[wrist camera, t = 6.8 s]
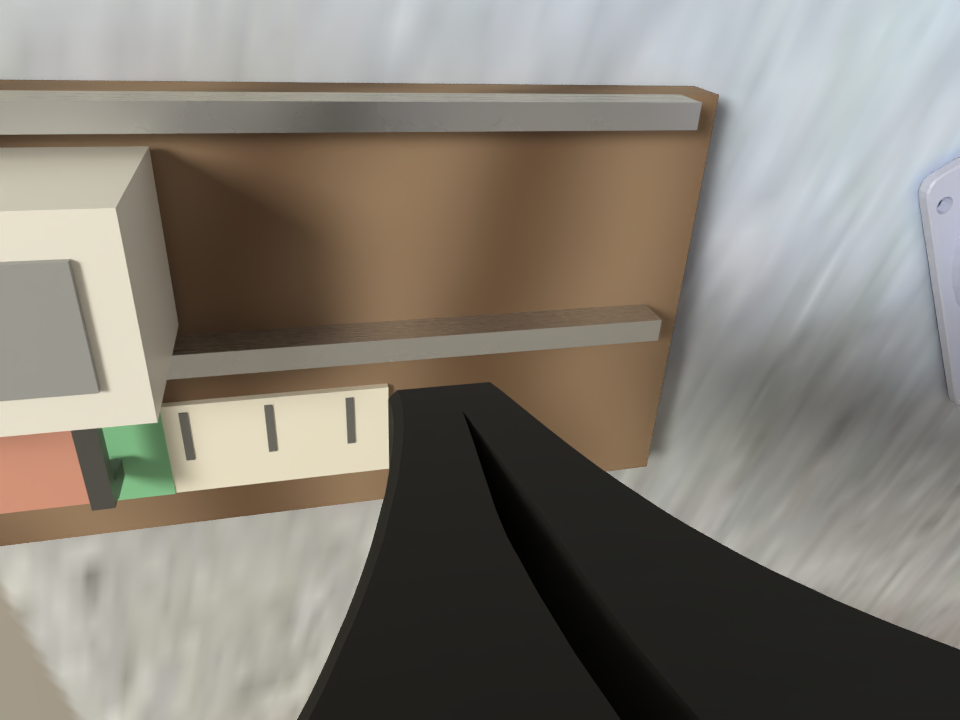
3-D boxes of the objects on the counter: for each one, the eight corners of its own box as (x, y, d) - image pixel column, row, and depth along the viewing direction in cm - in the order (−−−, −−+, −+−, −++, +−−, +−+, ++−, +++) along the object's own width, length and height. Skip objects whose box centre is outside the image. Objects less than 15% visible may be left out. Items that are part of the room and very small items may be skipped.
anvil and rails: (681, 94, 17) (780, 132, 14) (641, 323, 20) (716, 400, 17) (-451, 87, 12) (-715, 144, 9) (-290, 392, 15) (-443, 520, 12)
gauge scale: (387, 383, 19) (388, 388, 19) (388, 464, 21) (389, 469, 20) (-52, 421, 17) (-56, 427, 17) (-20, 510, 18) (-24, 516, 18)
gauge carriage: (149, 146, 15) (114, 211, 11) (201, 462, 19) (187, 582, 15) (-81, 148, 14) (-195, 219, 10) (24, 480, 18) (-34, 614, 14)
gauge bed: (694, 86, 19) (718, 94, 18) (630, 443, 24) (646, 466, 23) (-398, 75, 13) (-451, 87, 12) (-169, 536, 19) (-194, 569, 18)
